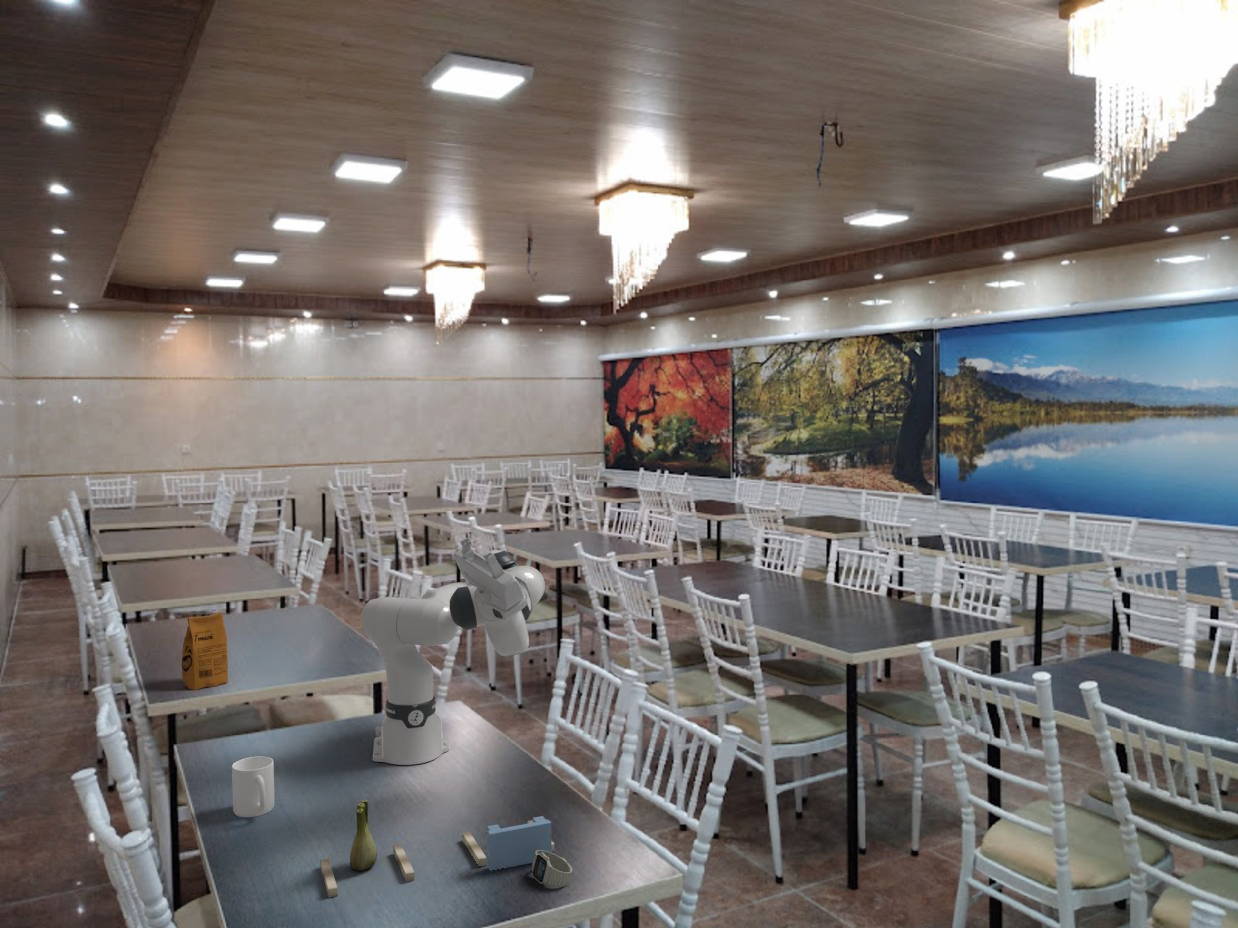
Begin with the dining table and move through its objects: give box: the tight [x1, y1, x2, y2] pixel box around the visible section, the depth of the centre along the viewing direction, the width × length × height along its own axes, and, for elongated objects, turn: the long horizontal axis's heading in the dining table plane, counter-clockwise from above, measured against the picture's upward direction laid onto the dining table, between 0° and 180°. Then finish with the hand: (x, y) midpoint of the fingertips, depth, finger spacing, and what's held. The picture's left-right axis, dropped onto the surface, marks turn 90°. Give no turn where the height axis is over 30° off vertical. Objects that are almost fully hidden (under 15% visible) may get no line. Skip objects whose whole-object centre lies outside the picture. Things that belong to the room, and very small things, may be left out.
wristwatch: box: [531, 850, 573, 888], centre depth 174 cm, size 9×6×5 cm
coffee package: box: [181, 611, 229, 691], centre depth 296 cm, size 10×12×22 cm
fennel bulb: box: [349, 799, 378, 872], centre depth 177 cm, size 6×5×12 cm
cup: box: [231, 755, 275, 818], centre depth 202 cm, size 8×12×10 cm
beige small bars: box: [319, 819, 555, 898], centre depth 180 cm, size 12×42×2 cm, turn 114°
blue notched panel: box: [486, 815, 553, 872], centre depth 180 cm, size 4×12×7 cm, turn 114°
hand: (476, 547), depth 202 cm, fingers open, 8 cm apart
